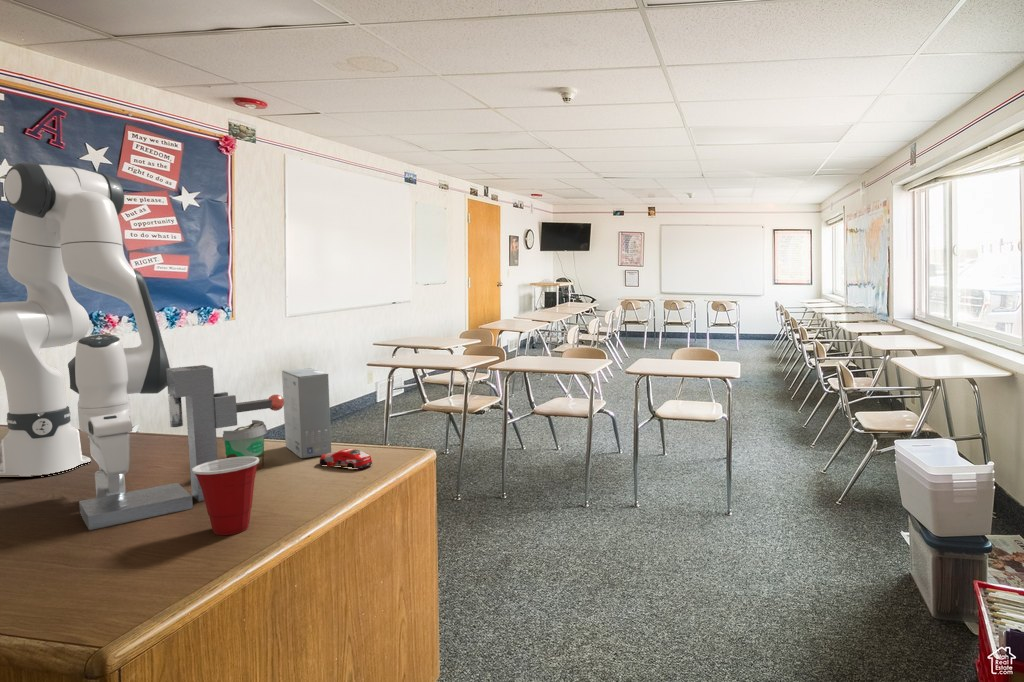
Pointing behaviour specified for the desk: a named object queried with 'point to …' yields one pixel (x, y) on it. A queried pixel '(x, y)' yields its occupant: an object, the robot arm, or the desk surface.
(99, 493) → the cylinder
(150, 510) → the press
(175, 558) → the desk surface
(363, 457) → the race car
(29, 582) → the desk surface
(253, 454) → the food container
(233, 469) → the plastic cup
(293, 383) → the hard drive box
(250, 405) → the lever
